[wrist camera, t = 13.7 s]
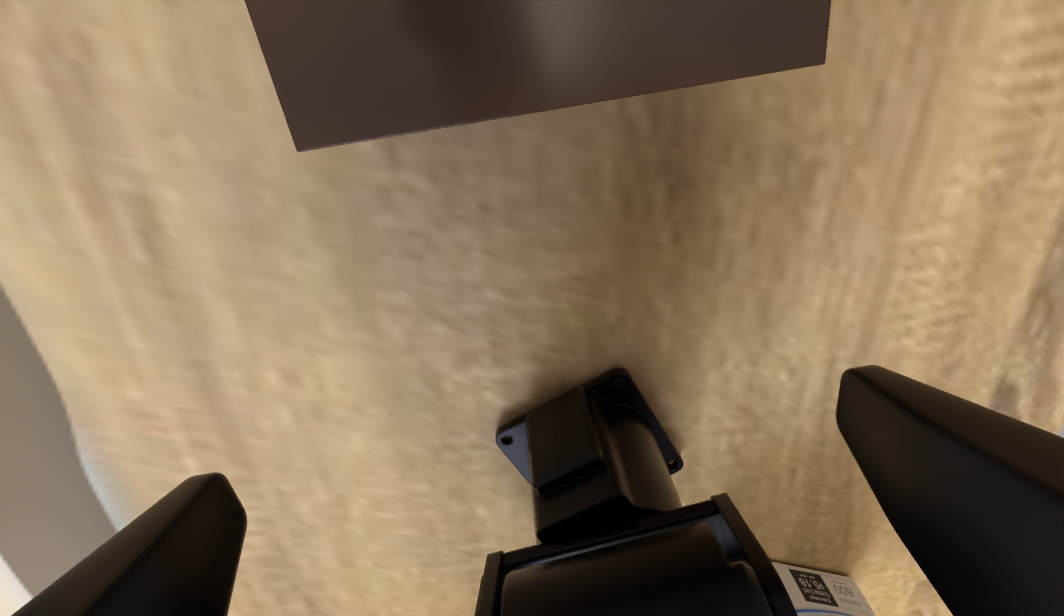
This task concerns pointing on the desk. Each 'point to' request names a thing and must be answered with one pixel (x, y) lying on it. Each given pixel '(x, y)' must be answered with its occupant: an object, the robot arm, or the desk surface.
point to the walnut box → (510, 56)
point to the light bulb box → (822, 592)
